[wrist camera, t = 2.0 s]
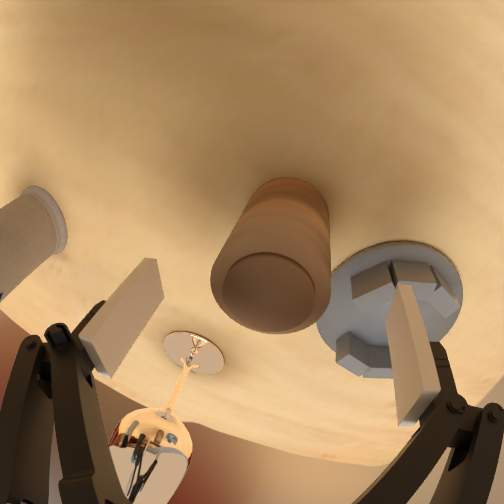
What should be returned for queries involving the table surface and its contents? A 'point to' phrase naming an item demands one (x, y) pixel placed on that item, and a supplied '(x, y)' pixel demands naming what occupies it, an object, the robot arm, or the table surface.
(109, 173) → the table surface
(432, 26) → the table surface
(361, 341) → the grey round base
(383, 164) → the table surface
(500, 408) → the robot arm
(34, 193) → the glass holder
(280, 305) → the stopper
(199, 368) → the wineglass
